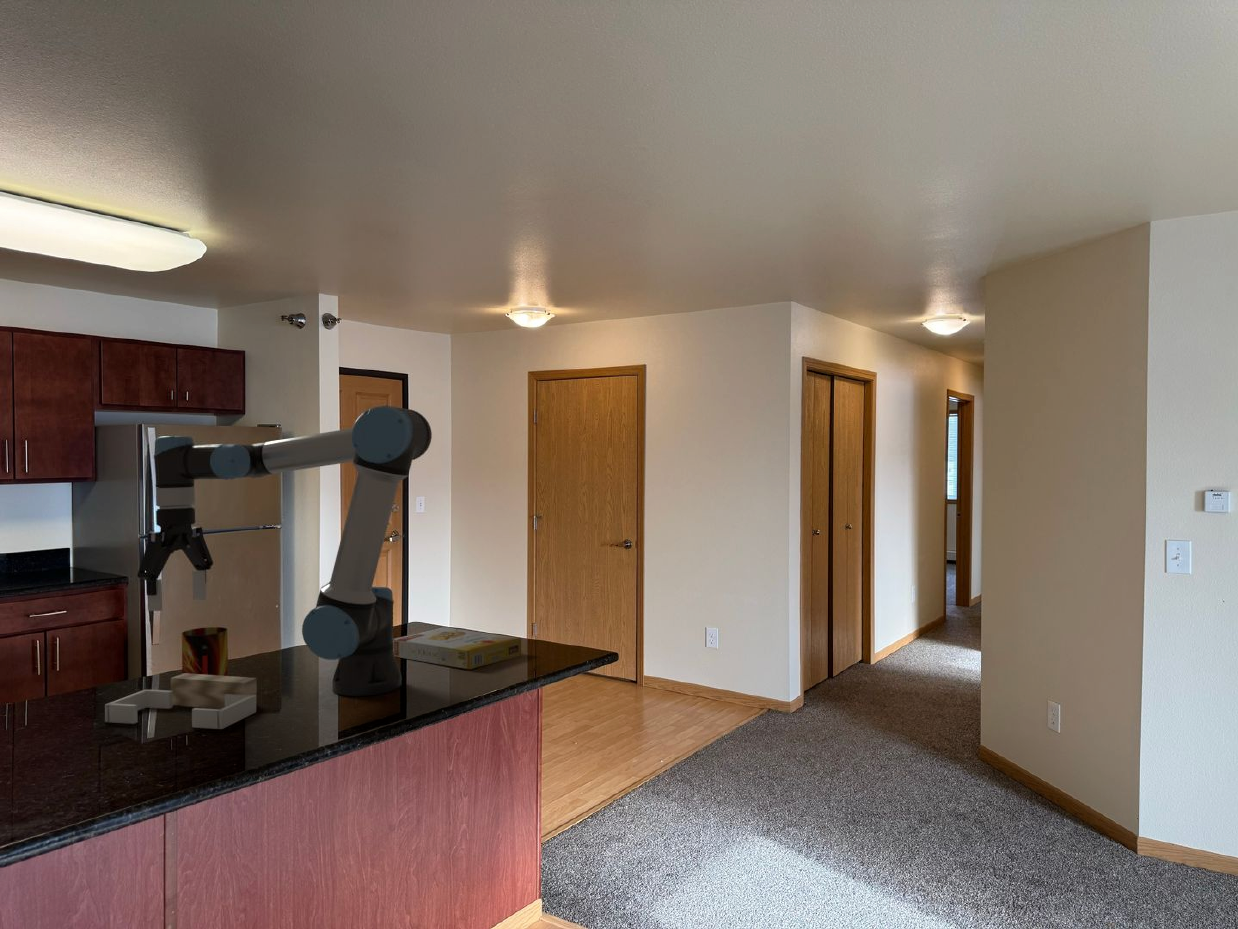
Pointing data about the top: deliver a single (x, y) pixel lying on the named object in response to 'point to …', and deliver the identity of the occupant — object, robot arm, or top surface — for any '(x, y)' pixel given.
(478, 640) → the cereal box
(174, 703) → the wooden block
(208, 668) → the mug
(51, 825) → the top surface
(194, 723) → the tray
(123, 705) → the endcap far
